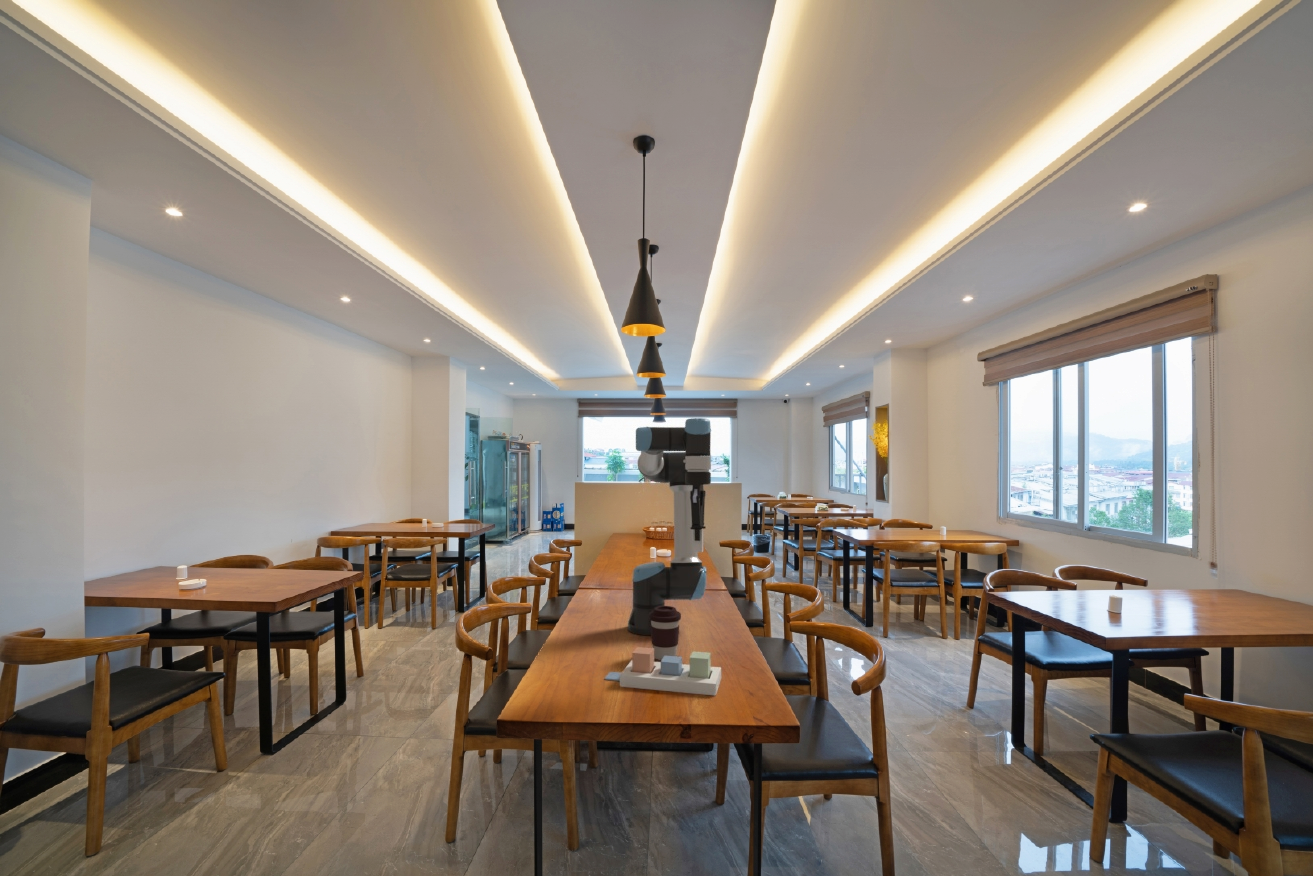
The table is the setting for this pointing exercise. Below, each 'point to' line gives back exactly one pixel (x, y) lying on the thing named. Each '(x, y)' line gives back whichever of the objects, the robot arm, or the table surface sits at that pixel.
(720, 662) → the table surface
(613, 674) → the swatch
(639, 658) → the button terracotta
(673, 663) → the button slate
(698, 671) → the button sage
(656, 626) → the coffee cup
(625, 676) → the button board
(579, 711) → the table surface
